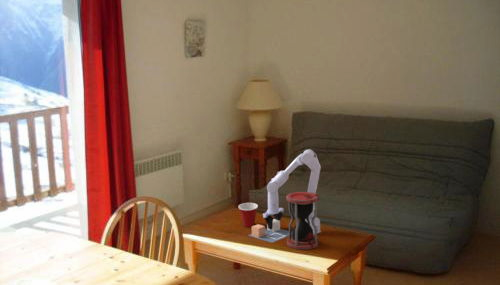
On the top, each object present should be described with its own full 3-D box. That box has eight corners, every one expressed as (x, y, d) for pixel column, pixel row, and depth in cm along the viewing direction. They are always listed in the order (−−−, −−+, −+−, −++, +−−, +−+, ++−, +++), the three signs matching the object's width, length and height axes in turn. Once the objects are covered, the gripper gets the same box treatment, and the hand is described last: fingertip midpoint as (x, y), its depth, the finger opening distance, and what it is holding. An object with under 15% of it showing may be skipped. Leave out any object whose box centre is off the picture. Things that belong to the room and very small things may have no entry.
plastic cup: (236, 228, 306) (236, 207, 304) (241, 222, 316) (241, 202, 314) (255, 230, 303) (255, 208, 301) (260, 223, 314) (259, 203, 312)
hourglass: (310, 251, 270) (310, 201, 266) (281, 246, 278) (280, 197, 274) (324, 241, 283) (324, 193, 279) (295, 236, 292) (295, 190, 287)
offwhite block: (280, 229, 302) (280, 220, 301) (274, 231, 299) (273, 222, 298) (273, 227, 306) (273, 218, 305) (267, 229, 302) (266, 221, 301)
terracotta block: (265, 235, 294) (265, 226, 293) (258, 237, 290) (258, 228, 289) (258, 233, 297) (258, 224, 296) (251, 235, 294) (251, 226, 293)
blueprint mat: (295, 233, 296) (295, 232, 296) (271, 243, 283) (271, 242, 283) (271, 226, 308) (271, 226, 308) (247, 235, 294) (247, 235, 294)
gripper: (276, 198, 307) (276, 222, 310) (258, 204, 297) (259, 229, 300) (286, 201, 303) (286, 225, 305) (268, 207, 292) (268, 232, 295)
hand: (273, 227), depth 302 cm, fingers closed on offwhite block, 5 cm apart
